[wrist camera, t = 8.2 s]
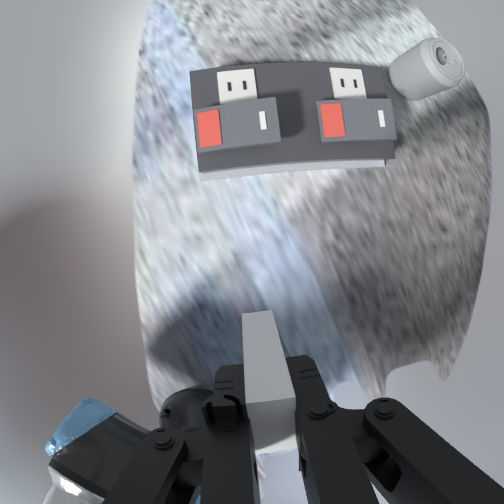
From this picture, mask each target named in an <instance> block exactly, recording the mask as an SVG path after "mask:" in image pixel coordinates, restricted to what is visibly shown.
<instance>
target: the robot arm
mask: <svg viewBox="0 0 504 504" xmlns="http://www.w3.org/2000/svg"><path fill="white" fill-rule="evenodd" d="M242 333H243V356H244V364H238V365H227V366H221V367H220V368H219V370H218V371H217V373H216V375H215V386H214V393H213V392H209V391H204V390H186V391H181V392H178V393H175V394H173V395H171V396H170V397H168V398H167V399H166V400H165V401H164V403H163V405H162V407H161V411H160V414H159V424H160V428H157V429H155V430H153V431H150V430H148V429H146V428H144V427H142V426H141V425H139V424H137V423H135V422H134V421H132V420H130V419H129V418H127V417H125V416H124V415H122V414H120V413H119V412H118V410H116V409H112V408H110V407H108V406H107V405H105V404H103V403H102V402H100V401H98V400H97V399H94V398H87V399H84V400H83V401H81V402H80V403H79V404H78V405H77V406H76V407H75V408H74V409H73V411H72V412H71V413H70V414H69V415H68V416H67V418H66V419H65V420H64V421H63V422H62V424H61V425H60V426H59V427H58V429H57V430H56V431H55V433H54V434H53V436H52V437H51V439H50V441H48V443H47V445H46V447H45V450H46V452H47V453H48V455H50V456H53V457H52V459H51V461H50V463H49V465H48V469H49V472H50V474H51V477H52V480H53V484H52V486H51V488H50V490H49V492H48V494H47V496H46V498H45V500H44V502H43V504H260V493H259V482H258V471H257V463H256V457H255V454H262V453H271V452H278V451H285V450H292V449H297V446H298V450H299V471H301V472H302V477H303V481H304V486H305V490H306V495H307V500H308V504H379V502H378V499H377V497H376V494H375V492H374V489H373V487H372V484H373V485H374V486H375V487H376V489H377V490H378V491H379V492H380V493H381V495H382V496H383V497H384V498H385V499H386V500H387V502H388V503H389V504H504V488H503V487H502V486H500V485H499V484H498V483H496V482H495V481H494V480H493V479H492V478H490V477H489V476H488V475H487V474H485V473H484V472H483V471H482V470H481V469H479V468H478V467H477V466H476V465H474V464H473V463H472V462H471V461H470V460H468V459H467V458H466V457H465V456H463V455H462V454H461V453H460V452H459V451H457V450H456V449H455V448H454V447H453V446H451V445H450V444H449V443H448V442H446V441H445V440H444V439H443V438H442V437H441V436H439V435H438V434H437V433H436V432H435V431H433V430H432V429H431V428H430V427H429V426H428V425H426V424H425V423H424V422H423V421H421V420H420V419H419V418H418V417H417V416H416V415H414V414H413V413H412V412H411V411H410V410H408V409H407V408H406V407H405V406H404V405H403V404H402V403H400V402H399V401H397V400H395V399H391V398H378V399H375V400H373V401H371V402H370V403H368V404H367V406H366V408H365V409H357V410H352V409H344V408H341V407H338V405H337V404H336V403H335V402H333V401H331V399H330V398H329V395H328V393H327V390H326V388H325V386H324V383H323V381H322V378H321V376H320V374H319V371H318V370H317V367H316V364H315V362H314V360H313V359H311V358H310V357H309V356H307V355H301V356H295V357H288V358H285V356H284V352H283V348H282V345H281V341H280V337H279V334H278V330H277V326H276V323H275V319H274V315H273V312H272V310H267V311H259V312H251V313H242ZM370 481H371V482H370ZM371 483H372V484H371Z"/></svg>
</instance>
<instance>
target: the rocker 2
mask: <svg viewBox="0 0 504 504" xmlns="http://www.w3.org/2000/svg"><path fill="white" fill-rule="evenodd" d="M316 104H317V111H318V119H319V126H320V134H321V142H322V144H328V143H346V142H374V141H395V140H397V134H396V127H395V120H394V113H393V107H392V102H391V99H340V100H323V101H316Z"/></svg>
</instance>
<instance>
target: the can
mask: <svg viewBox="0 0 504 504" xmlns="http://www.w3.org/2000/svg"><path fill="white" fill-rule="evenodd" d="M464 75H465V65H464V62H463V59H462V57H461V55H460V54H459V52H458V50H457V49H456V48H455V47H454V46H453V45H452V44H450V43H449V42H448V41H446V40H444V39H441V38H427V39H424V40H423V41H421V42H420V43H418V44H417V45H415V46H414V47H412V48H411V49H409V50H408V51H406V52H405V53H403V54H402V55H400V56H399V57H398V58H396V59H395V60H393V62H392V63H391V64H390V67H389V76H390V79H391V82H392V84H393V85H394V87H395V88H396V90H397V91H398V92H399V93H400V94H401V95H403V96H404V97H406V98H407V99H411V100H420V99H422V98H425V97H428V96H430V95H433V94H436V93H438V92H441V91H444V90H447V89H449V88H452V87H455V86H457V85H459V83H460V81H461V79H462V78H463V77H464Z"/></svg>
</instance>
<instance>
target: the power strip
mask: <svg viewBox="0 0 504 504" xmlns="http://www.w3.org/2000/svg"><path fill="white" fill-rule="evenodd" d="M190 84H191V97H192V108H193V119H194V130H195V140H196V150H197V159H198V168H199V176H200V181H208V180H216V179H224V178H232V177H241V176H250V175H259V174H270V173H281V172H293V171H306V170H322V169H341V168H368V167H385V164H384V160H387V159H395V150H394V141H374V142H346V143H328V144H322V142H321V134H320V126H319V119H318V111H317V104H316V101H323V100H340V99H387V95H386V90H385V85H384V80H383V76H382V71H381V67H372V66H363V65H352V64H338V63H312V62H287V63H261V64H247V65H235V66H226V67H217V68H210V69H202V70H196V71H190ZM270 97H276V100H277V106H278V114H279V121H280V129H281V138H282V144H275V145H266V146H257V147H249V148H241V149H234V150H227V151H220V152H214V153H208V154H201V153H198V148H197V138H196V128H195V118H194V110H197V109H202V108H207V107H212V106H217V105H223V104H229V103H235V102H241V101H247V100H255V99H262V98H270Z"/></svg>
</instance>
